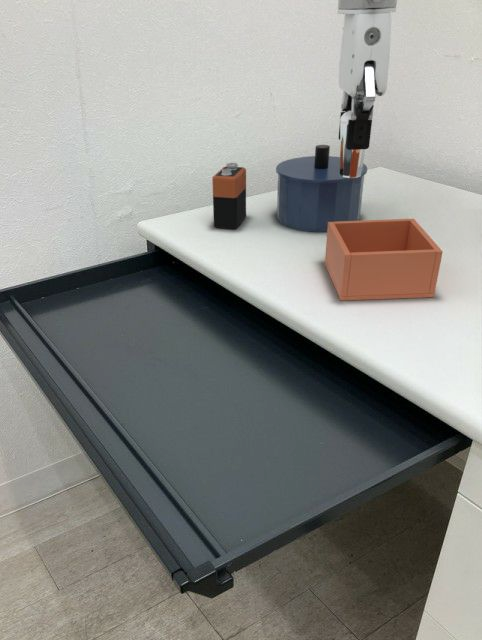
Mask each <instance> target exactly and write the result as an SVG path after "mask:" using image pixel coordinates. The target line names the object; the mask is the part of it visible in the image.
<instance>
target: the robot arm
mask: <svg viewBox="0 0 482 640" xmlns="http://www.w3.org/2000/svg"><path fill="white" fill-rule="evenodd" d="M337 3H338V4H337V14H338V15H344V20H343V27H342V35H341V45H340V54H339V64H338V65H339V67H338V86H339V88H340V89H341V90H342V91H343V93H342V101H341V107H340V108H341V111H340V116H339V119H340V118H341V116H342V115H343V114H344V113H345V112H348V111H351V120H349V121H348V132H347V143H346V148H347V149H348V150H359V149H366V150H367V149H369V148H370V143H371V135H372V134H371V133H372V125H373V116H374V106H375V105H374V103H375V102H376V96H377V97H382V96H384V95H385V94H386V92H387V87H388V77H389V65H390V53H391V39H392V38H391V37H392V13H395V12H396V11H397V3H398V0H338V2H337ZM338 140H339V141H340V125H339V127H338Z"/></svg>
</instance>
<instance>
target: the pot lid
mask: <svg viewBox="0 0 482 640" xmlns="http://www.w3.org/2000/svg"><path fill="white" fill-rule="evenodd" d="M330 148H331V146H330V145H328V144H318V145H315V148H314V149H315V150H314V155H309V156H301V157H294V158H290V159H287V160H286V159H285V160H283V161H281V162H279V163H278V164H277V165H276V167H275V173H276V174H277V176H278V175H280V176H281V177H284V178H286V179H290V180H294V181H299V182H307V183H337V182H345V181H350V180H354V179H358V178H360V177H362V176H364V177H365V175H366V174H367V172H368V166H367V165H366V164H365V163H363V167H362V172H361V176H360V177H357V178H346V177H342V176H340V156H332V155H330V151H331V149H330Z"/></svg>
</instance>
